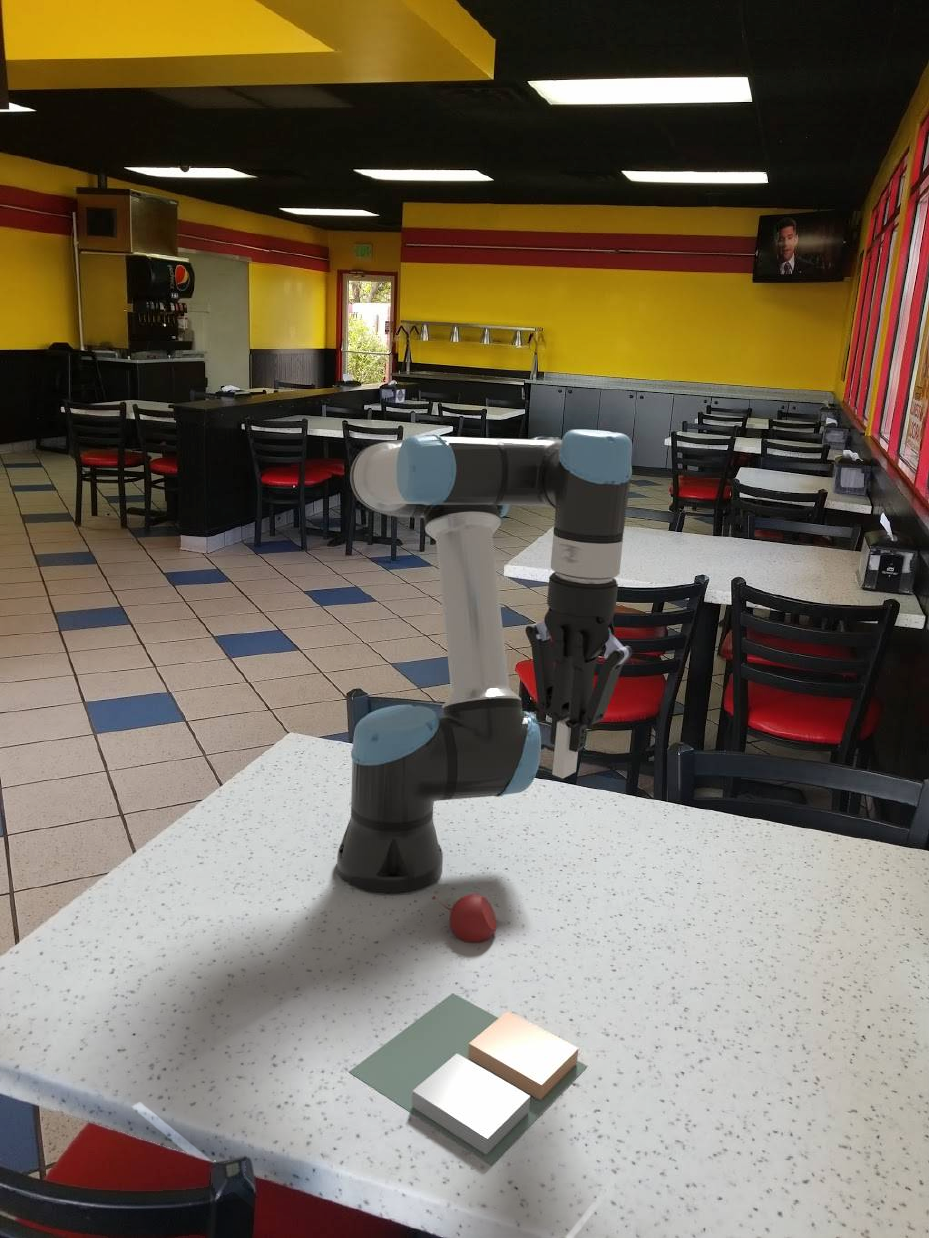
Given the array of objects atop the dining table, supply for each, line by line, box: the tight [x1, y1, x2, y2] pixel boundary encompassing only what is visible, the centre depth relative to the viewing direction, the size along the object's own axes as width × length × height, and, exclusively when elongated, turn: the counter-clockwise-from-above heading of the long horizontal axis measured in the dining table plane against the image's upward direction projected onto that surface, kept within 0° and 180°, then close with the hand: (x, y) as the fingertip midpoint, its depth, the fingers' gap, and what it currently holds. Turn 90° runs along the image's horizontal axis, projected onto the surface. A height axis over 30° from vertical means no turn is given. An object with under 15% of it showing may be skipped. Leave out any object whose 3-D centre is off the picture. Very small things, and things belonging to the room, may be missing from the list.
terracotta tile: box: [468, 1010, 579, 1100], centre depth 100 cm, size 2×7×9 cm
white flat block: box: [412, 1053, 530, 1155], centre depth 93 cm, size 2×7×9 cm
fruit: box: [431, 893, 497, 944], centre depth 122 cm, size 6×6×8 cm
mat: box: [348, 993, 589, 1167], centre depth 99 cm, size 18×17×1 cm
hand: (564, 772), depth 111 cm, fingers closed
